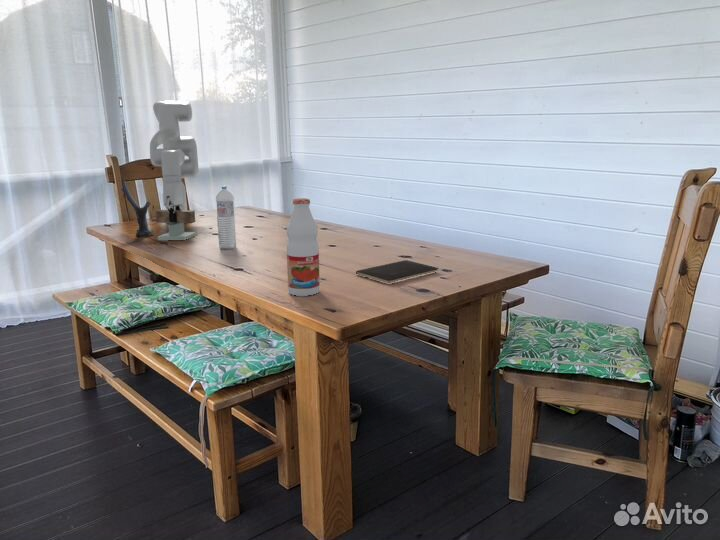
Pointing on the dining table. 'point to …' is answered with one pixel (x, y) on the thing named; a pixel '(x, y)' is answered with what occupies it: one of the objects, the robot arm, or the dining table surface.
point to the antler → (138, 213)
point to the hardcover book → (396, 271)
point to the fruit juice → (302, 251)
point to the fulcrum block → (176, 233)
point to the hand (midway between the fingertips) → (175, 220)
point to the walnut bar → (182, 216)
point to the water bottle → (226, 219)
